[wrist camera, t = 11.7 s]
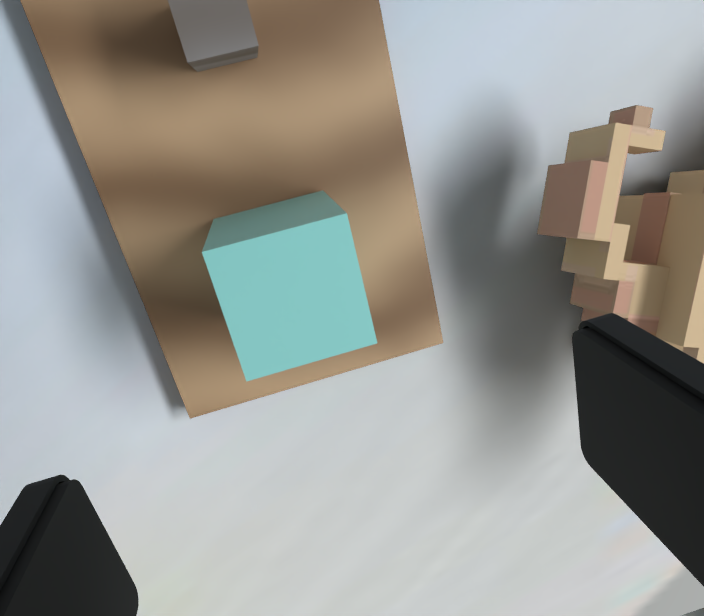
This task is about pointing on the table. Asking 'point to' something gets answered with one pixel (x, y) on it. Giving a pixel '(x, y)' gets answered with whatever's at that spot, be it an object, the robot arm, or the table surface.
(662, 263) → the toy
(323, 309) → the teal block
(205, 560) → the table surface
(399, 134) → the stand
